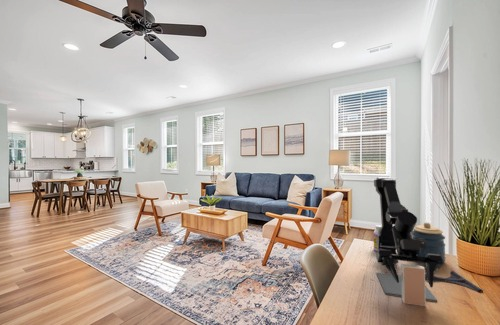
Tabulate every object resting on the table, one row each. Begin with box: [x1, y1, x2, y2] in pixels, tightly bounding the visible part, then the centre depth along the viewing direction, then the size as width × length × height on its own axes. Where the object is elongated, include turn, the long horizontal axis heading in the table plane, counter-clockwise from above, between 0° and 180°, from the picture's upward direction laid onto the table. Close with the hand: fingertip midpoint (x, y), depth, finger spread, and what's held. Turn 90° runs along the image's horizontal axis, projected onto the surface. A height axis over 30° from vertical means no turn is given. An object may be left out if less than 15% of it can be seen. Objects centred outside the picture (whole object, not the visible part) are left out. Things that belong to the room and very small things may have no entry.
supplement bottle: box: [373, 224, 382, 252], centre depth 122 cm, size 7×7×13 cm
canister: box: [411, 221, 447, 265], centre depth 109 cm, size 13×13×18 cm
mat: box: [375, 272, 438, 303], centre depth 86 cm, size 16×15×1 cm
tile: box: [400, 263, 427, 307], centre depth 75 cm, size 2×6×12 cm, turn 71°
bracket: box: [425, 270, 484, 293], centre depth 89 cm, size 14×15×3 cm
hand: (414, 284), depth 74 cm, fingers open, 9 cm apart
